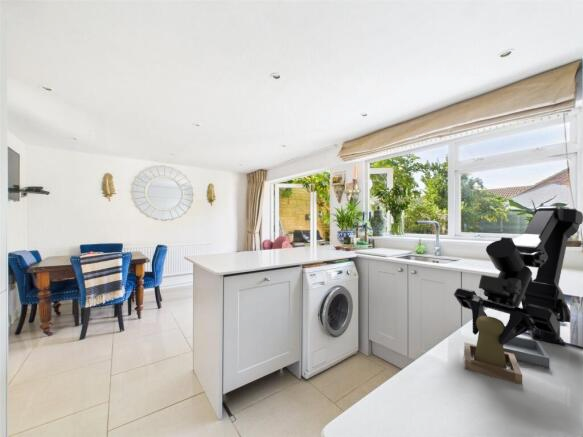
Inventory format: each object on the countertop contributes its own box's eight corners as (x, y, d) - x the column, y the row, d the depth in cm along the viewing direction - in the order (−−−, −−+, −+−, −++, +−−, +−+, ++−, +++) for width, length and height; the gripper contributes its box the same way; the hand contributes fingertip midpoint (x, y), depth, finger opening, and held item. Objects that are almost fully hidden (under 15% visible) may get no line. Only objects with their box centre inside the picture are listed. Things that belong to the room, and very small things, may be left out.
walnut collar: (464, 350, 64) (464, 342, 64) (513, 362, 59) (513, 353, 59) (465, 368, 56) (465, 360, 56) (522, 384, 51) (522, 375, 51)
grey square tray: (490, 340, 70) (490, 331, 70) (538, 350, 64) (538, 340, 64) (494, 356, 62) (494, 345, 62) (549, 369, 56) (549, 358, 56)
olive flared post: (513, 375, 54) (514, 324, 54) (482, 371, 55) (482, 322, 55) (497, 359, 60) (497, 314, 60) (468, 356, 61) (469, 312, 61)
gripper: (458, 257, 68) (432, 304, 63) (553, 270, 51) (528, 336, 46) (474, 283, 71) (450, 329, 66) (568, 303, 55) (546, 367, 50)
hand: (486, 338), depth 57 cm, fingers closed on olive flared post, 5 cm apart
